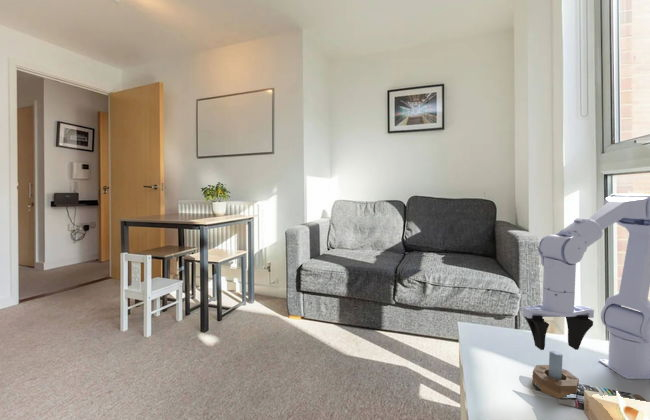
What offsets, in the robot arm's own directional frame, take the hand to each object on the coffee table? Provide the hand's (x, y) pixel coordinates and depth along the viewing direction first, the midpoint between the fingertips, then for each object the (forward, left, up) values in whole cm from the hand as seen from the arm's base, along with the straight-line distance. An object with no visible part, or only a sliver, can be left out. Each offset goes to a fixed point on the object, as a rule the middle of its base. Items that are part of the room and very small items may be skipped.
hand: (556, 347), depth 71 cm
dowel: (0, 0, -9) cm, 9 cm away
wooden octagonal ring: (0, 0, -9) cm, 9 cm away
